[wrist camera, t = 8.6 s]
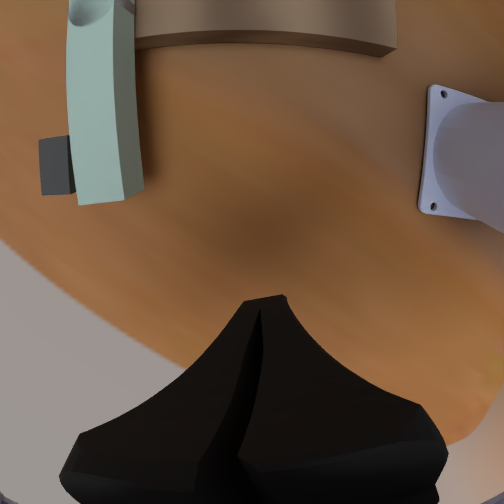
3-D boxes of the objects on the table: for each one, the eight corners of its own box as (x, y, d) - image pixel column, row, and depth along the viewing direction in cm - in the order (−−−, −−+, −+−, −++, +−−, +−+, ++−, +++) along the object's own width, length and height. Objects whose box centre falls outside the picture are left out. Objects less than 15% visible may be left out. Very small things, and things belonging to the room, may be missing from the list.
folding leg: (93, 4, 11) (69, -9, 9) (135, -10, 11) (116, -27, 9) (102, 194, 15) (78, 205, 13) (145, 189, 15) (125, 199, 13)
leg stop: (104, 132, 17) (67, 135, 13) (106, 179, 18) (70, 194, 14) (78, 135, 17) (38, 139, 13) (80, 180, 18) (42, 195, 14)
